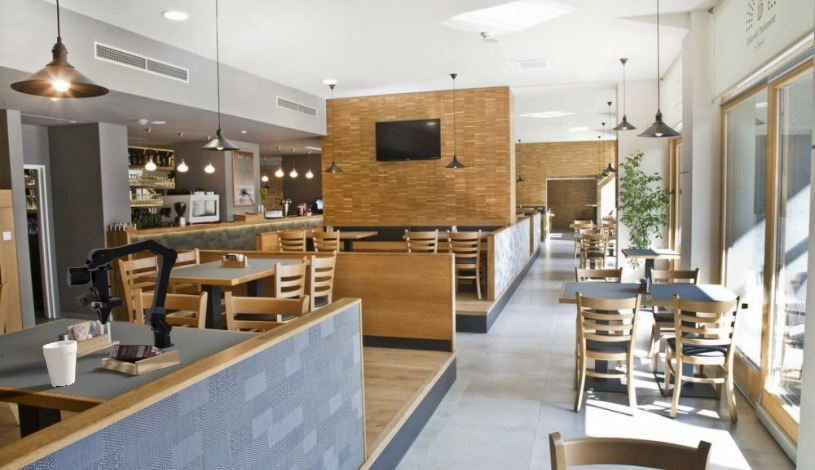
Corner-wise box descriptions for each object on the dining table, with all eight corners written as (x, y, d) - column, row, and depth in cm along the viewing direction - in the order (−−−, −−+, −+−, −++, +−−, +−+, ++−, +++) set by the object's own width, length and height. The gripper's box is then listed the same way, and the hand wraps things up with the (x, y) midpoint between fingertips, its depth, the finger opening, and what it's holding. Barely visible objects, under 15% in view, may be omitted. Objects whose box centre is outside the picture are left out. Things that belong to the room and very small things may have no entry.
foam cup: (56, 380, 189) (52, 341, 188) (85, 378, 190) (82, 339, 189) (40, 389, 180) (36, 349, 179) (71, 387, 181) (67, 347, 180)
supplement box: (127, 349, 208) (166, 350, 204) (124, 363, 206) (163, 364, 202) (112, 343, 200) (152, 344, 197) (108, 357, 198) (148, 358, 195)
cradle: (102, 367, 202) (101, 355, 201) (143, 356, 215) (142, 344, 214) (138, 375, 190) (137, 362, 190) (179, 362, 203) (178, 350, 203)
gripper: (64, 285, 210) (67, 327, 211) (92, 287, 200) (95, 331, 201) (94, 280, 220) (97, 320, 221) (122, 282, 210) (125, 325, 211)
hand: (103, 324), depth 213 cm, fingers closed
